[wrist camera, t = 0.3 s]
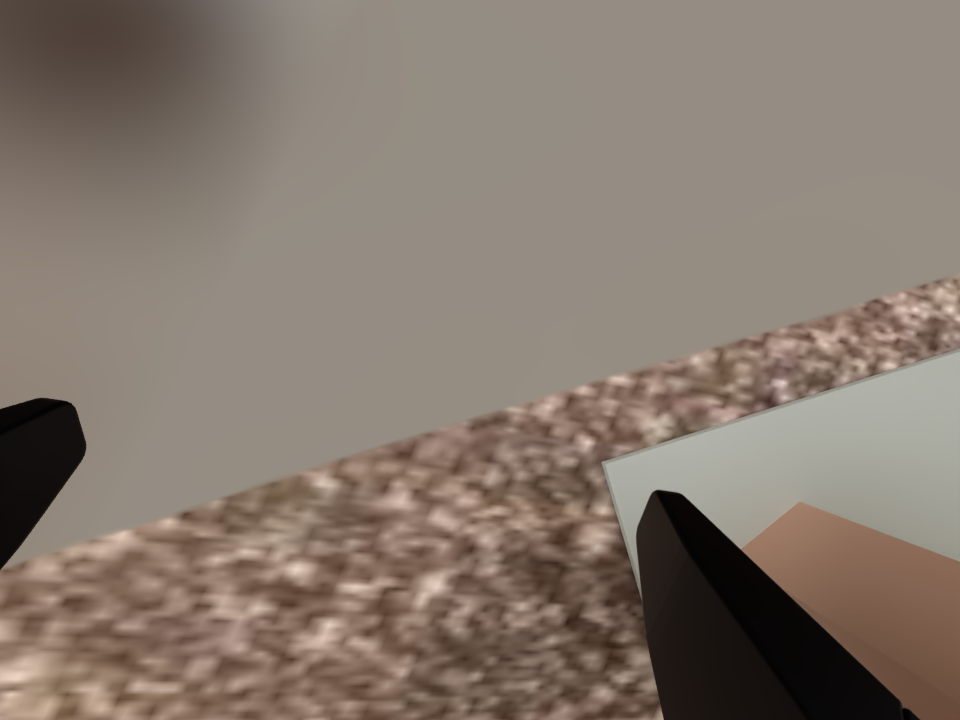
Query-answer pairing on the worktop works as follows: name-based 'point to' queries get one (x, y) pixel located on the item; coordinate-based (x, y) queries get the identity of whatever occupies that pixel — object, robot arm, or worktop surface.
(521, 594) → the worktop surface
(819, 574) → the terracotta slab
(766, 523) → the rubber mat
